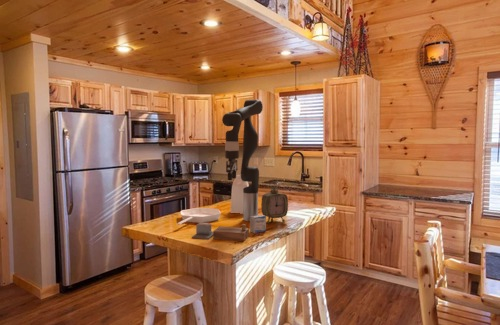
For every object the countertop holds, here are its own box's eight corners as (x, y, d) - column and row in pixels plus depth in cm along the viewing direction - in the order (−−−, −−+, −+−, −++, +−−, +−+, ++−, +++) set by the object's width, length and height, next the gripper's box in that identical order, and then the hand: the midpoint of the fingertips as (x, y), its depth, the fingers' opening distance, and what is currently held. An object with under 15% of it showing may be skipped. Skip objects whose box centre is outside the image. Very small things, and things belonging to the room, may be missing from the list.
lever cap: (198, 232, 177) (198, 222, 176) (211, 233, 175) (211, 222, 175) (196, 234, 173) (196, 223, 173) (209, 235, 172) (209, 224, 171)
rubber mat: (200, 231, 181) (200, 230, 181) (216, 232, 179) (216, 231, 179) (191, 238, 169) (191, 236, 169) (208, 239, 167) (208, 238, 167)
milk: (249, 210, 238) (249, 174, 236) (248, 214, 226) (248, 175, 225) (233, 210, 239) (233, 174, 237) (230, 213, 228) (230, 175, 226)
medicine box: (254, 233, 178) (254, 217, 177) (249, 231, 182) (249, 216, 181) (266, 231, 183) (266, 215, 182) (261, 229, 186) (261, 214, 186)
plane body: (219, 233, 178) (219, 220, 177) (248, 235, 174) (248, 222, 174) (213, 239, 168) (213, 225, 167) (244, 241, 164) (244, 227, 164)
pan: (227, 216, 221) (227, 209, 220) (201, 232, 181) (201, 224, 181) (189, 213, 228) (189, 206, 228) (156, 228, 189) (156, 220, 189)
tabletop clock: (267, 224, 197) (267, 182, 196) (259, 221, 205) (260, 181, 204) (287, 222, 204) (288, 181, 202) (279, 219, 212) (280, 180, 210)
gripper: (229, 149, 191) (229, 177, 192) (221, 150, 178) (221, 180, 179) (241, 149, 190) (241, 178, 191) (235, 150, 176) (235, 180, 177)
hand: (231, 179), depth 185 cm, fingers open, 8 cm apart
